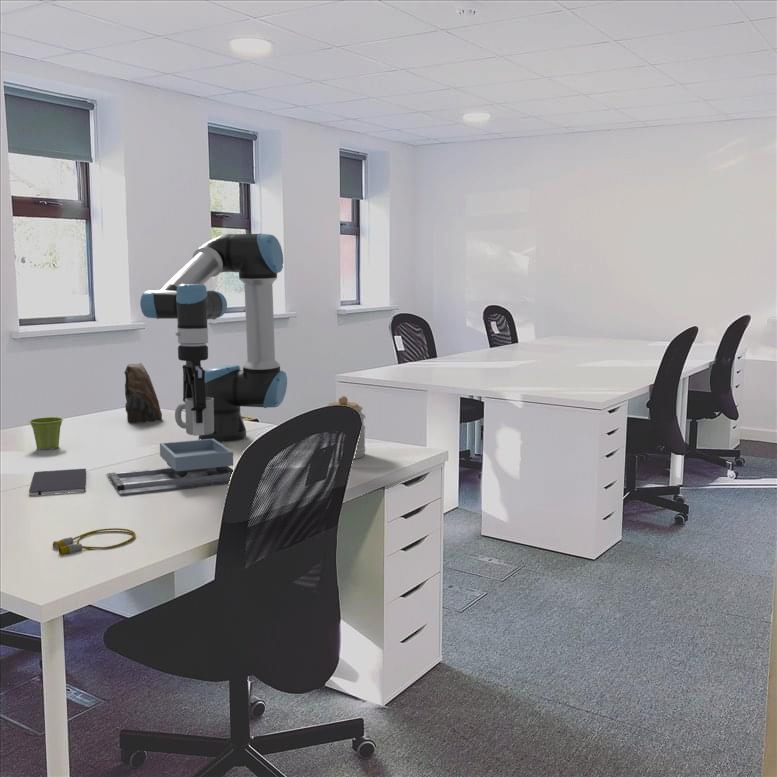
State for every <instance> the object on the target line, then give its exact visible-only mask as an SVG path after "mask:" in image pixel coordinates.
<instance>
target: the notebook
mask: <svg viewBox="0 0 777 777" xmlns="http://www.w3.org/2000/svg"><path fill="white" fill-rule="evenodd" d="M86 480H87V468H76V469H75V468H73V469H71V468H70V469H61V470H59V469H58V470H42V471H35V472H34V473H33V477H32V479H31V482H30V486H29V490H28V493H29V496H30V495H38V496H39V495H41V496H43V495H42V494H52V495H56V494H55V493H65V494H72V493H71V492H78V493H86V487H87V486H86V484H87V483H86V482H87V481H86ZM85 486H86V487H85ZM68 492H70V493H68Z"/></svg>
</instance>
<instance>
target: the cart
mask: <svg viewBox="0 0 777 777" xmlns="http://www.w3.org/2000/svg"><path fill="white" fill-rule="evenodd" d="M159 452H160V453H159V456H160V457H161V459H162V460H164V462H166V464H167V466H168V467H172V468H173V469H174V470H175V471H177V474H178V475H179V476H180V477H185V476H186V475H187V470H194V469H204V468H214V467H216V470H217V471H218V472H219V473H224V472H225V471H226V466H229V467H232V466H234V451H232V450H231V449H229V447H226V446H225V445H223V444H222V442H218V441H216V440H215V439H204V440H200V439H195V440H184V441H171V442H160V443H159Z"/></svg>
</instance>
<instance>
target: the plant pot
mask: <svg viewBox="0 0 777 777" xmlns="http://www.w3.org/2000/svg"><path fill="white" fill-rule="evenodd" d="M63 420H64V418H63V417H57V416H55V417H53V416H49V417H47V416H46V417H38V418H33V419H30V420H28V422H29V423H30V425H31V428H32V431H33V436H34V440H35V444H36V449H38V450H39V449H40V450H46V451H49V450H55V449H57V448H59V446H60V435H61V426H62V422H63Z"/></svg>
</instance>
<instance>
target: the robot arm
mask: <svg viewBox="0 0 777 777" xmlns="http://www.w3.org/2000/svg"><path fill="white" fill-rule="evenodd" d="M283 264H284V252H283V248H282V246H281V243H280V241H279V239H278V238H277V237H276V236H275V235H273V234H268V233H261V232H260V233H235V234H234V233H225V234H223V235H219V236H215V237H214V238H212V239H211V240H208V241H207V242H205V243H203V244H201V245H200V246H199V247H198V248H197V249H196V250H195V251H194V253H193V255H192V258H191V259H190V260H189V261H188V262H187V263H186V264H185V265H184V266H182V268H181V269H179V271H177V272H176V273H175V274H174V275H173V276H172V277H171V278H170V279H169V280H168V281H166V282H165V283H164V284H163V285H162V286H161V287H160V288H159V289H156V290H155V289H152V290H146V291H144V292H143V293H142V294H141V298H140V303H139V304H140V310H141V313H142V315H143V316H144V317H146V318H147V319H149V318H150V319H157V320H158V319H160V320H161V319H165V320H166V319H169V320H170V319H171V320H172V319H174V320H177V331H175V336H177V344H180V345H178V346H177V356H178V357H177V359H178V360H179V361H183V362H185V364H183V365H182V367H181V368H182V374H183V376H182V378H183V379H182V382H183V383H182V384H183V385H182V394H183V395H182V396H183V397H182V401H183V403H185V399H187V398H193V406H194V408H191V411H193V435H192V436H193V437H194V436H197V437H198V440H200V439H201V440H204V439H215V440H216V441H218V442H219V443H226V442H227V443H228V442H229V443H230V442H237V441H241V440H244V439H246V438H247V429H246V426H245V424H244V420H243V418H242V415H241V407H245V408H246V407H247V408H248V407H249V408H264V409H268V408H277V407H279V406H280V405H281V404H282V403H283V401H284V399H285V397H286V393H287V388H288V376H287V373H286V372H285V371H283V370H281V364H280V363H279V362H278V361H277V360H276V352H275V351H276V349H275V348H276V347H275V325H274V324H275V319H274V294H273V287H274V286H273V284H274V282H275V281H277V279H278V273H281V272H282V270H283V267H284V265H283ZM221 273H238V279H239V280H240V281H241V282H242V283H243V285H244V300H245V301H244V305H245V306H244V307H245V308H244V310H245V328H246V329H245V330H246V331H245V332H246V354H247V356H246V357H247V360H246V362H245V363H244V364H243V365H242V369H241V367H240V365H239V364H232V365H223V366H216V367H215V366H214V367H210V368H207V369H204V368H203V367H202V365H201V361H206V360H208V358H209V346H208V345H207V344H208V343H209V333H208V332H209V330H208V329H209V328H208V320H216V319H219V318H221V317H223V316H224V314H225V313H226V311H227V309H228V302H227V299H226V297H225V295H224V294H222V293H221V292H220V291H215V290H207V286H206V285H205V284H206V283H207V282H208V281H209V279H211V278H214V277H217V276H218V275H220V274H221ZM206 397H209V398H213V400H214V432H213V433H212V434H208V435H204V409H206ZM185 413H186V411H185Z"/></svg>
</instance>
